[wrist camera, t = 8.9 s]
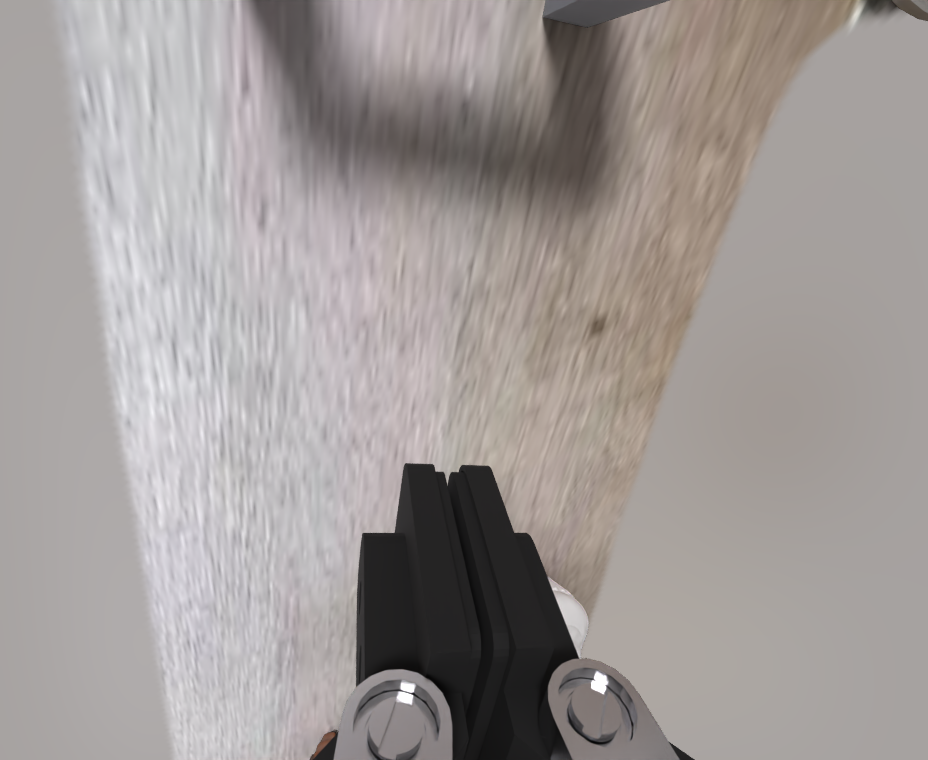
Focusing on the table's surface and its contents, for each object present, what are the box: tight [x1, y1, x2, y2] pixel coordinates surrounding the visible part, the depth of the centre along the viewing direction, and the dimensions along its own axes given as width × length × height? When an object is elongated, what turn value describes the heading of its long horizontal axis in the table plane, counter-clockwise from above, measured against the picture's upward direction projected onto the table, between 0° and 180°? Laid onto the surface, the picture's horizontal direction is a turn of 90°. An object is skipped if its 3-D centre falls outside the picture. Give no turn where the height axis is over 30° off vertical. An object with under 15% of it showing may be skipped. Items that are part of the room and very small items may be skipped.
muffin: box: [547, 576, 589, 659], centre depth 34 cm, size 6×6×7 cm
